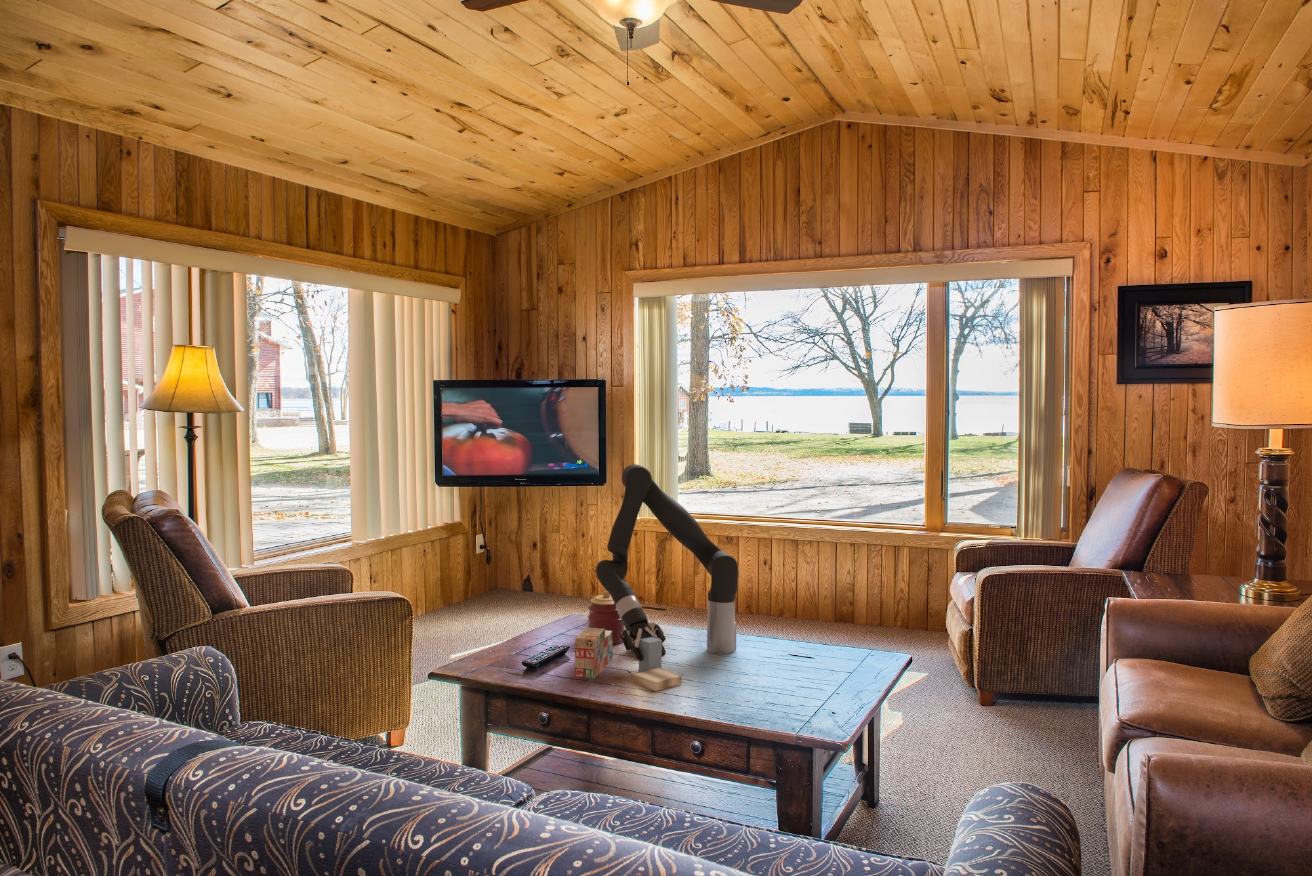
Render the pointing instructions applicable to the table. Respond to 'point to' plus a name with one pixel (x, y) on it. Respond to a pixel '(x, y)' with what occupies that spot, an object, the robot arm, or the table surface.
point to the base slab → (657, 679)
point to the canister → (605, 616)
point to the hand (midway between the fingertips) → (652, 657)
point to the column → (650, 654)
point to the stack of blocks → (592, 652)
